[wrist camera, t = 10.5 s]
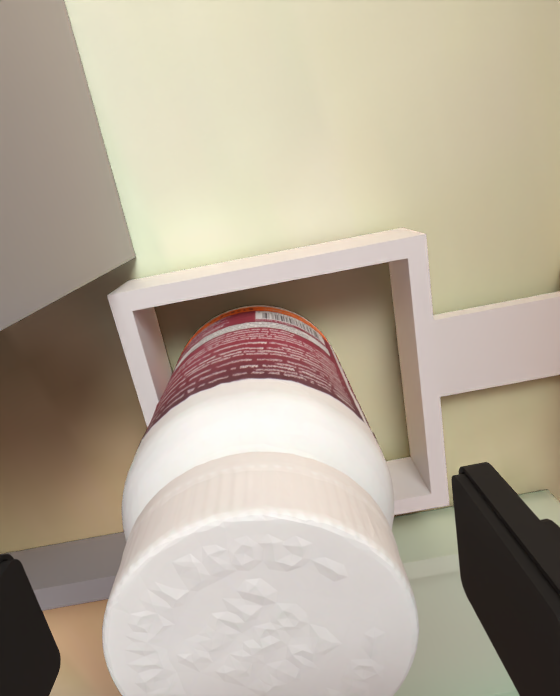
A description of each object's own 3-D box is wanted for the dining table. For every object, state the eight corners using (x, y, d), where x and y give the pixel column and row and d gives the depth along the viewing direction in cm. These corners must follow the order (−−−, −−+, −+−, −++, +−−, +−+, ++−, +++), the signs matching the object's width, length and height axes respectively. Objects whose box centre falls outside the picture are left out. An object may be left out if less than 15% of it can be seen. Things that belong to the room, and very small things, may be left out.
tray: (547, 489, 20) (586, 530, 18) (549, 683, 24) (582, 740, 22) (279, 537, 21) (281, 585, 18) (321, 722, 24) (327, 782, 22)
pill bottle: (146, 351, 18) (-26, 597, 7) (291, 270, 17) (345, 407, 6) (232, 475, 20) (197, 821, 9) (366, 406, 19) (506, 693, 8)
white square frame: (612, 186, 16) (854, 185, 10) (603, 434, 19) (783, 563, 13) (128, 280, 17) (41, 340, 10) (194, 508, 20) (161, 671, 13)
